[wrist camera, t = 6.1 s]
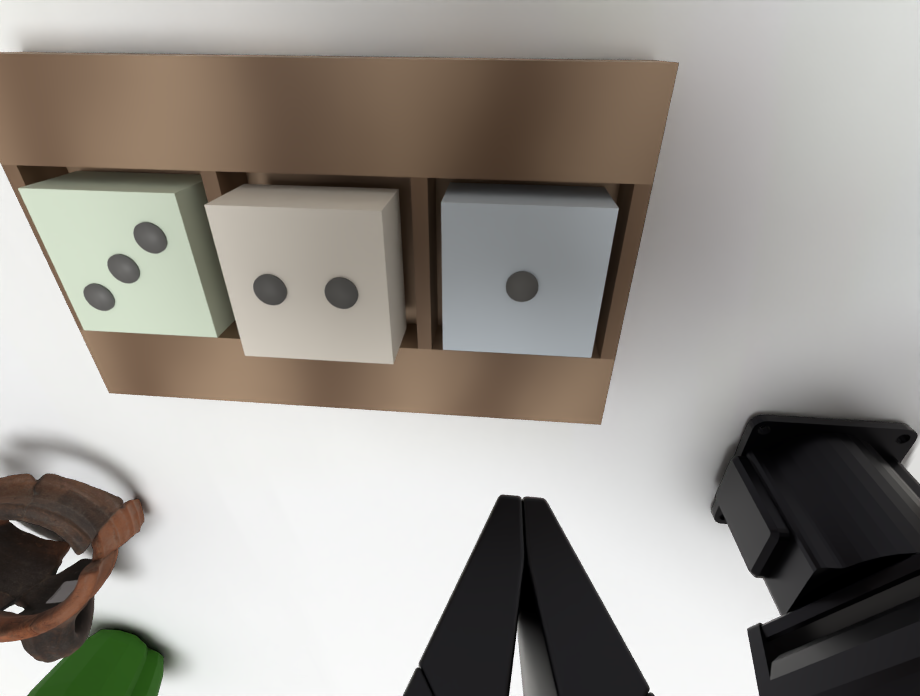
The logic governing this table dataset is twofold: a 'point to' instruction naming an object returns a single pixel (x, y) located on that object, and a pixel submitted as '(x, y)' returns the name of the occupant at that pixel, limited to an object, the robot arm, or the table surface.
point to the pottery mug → (57, 559)
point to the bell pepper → (105, 669)
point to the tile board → (362, 166)
